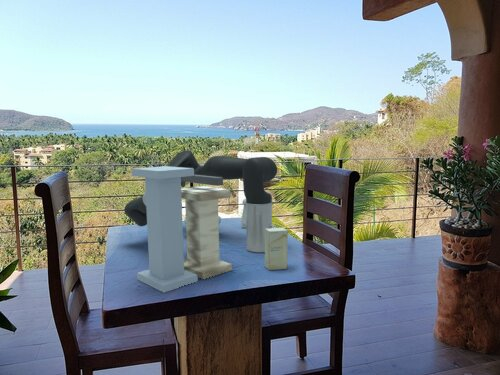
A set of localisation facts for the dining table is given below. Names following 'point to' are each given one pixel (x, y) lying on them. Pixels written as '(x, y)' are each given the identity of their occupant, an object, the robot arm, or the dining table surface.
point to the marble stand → (203, 230)
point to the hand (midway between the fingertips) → (180, 172)
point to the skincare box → (276, 248)
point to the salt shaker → (244, 215)
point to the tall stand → (164, 228)
